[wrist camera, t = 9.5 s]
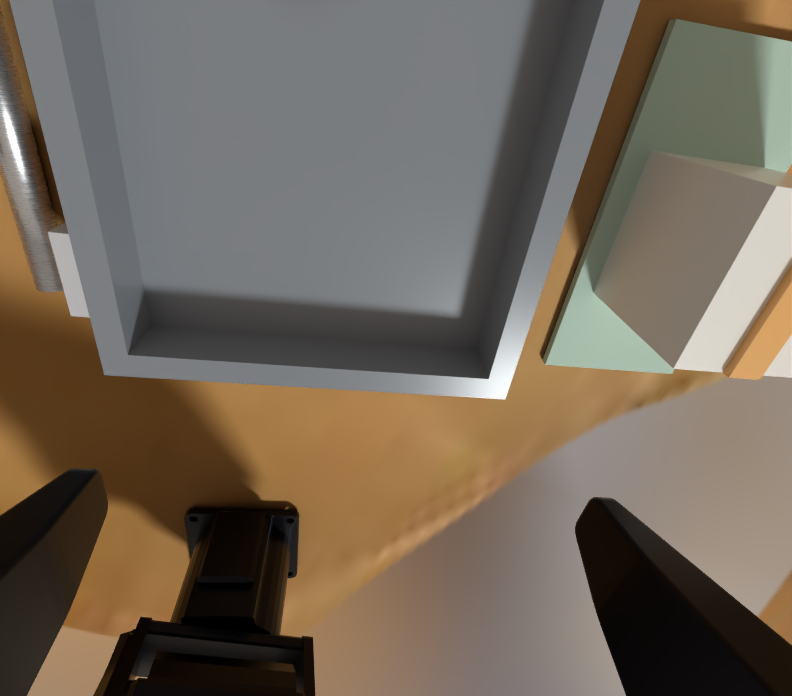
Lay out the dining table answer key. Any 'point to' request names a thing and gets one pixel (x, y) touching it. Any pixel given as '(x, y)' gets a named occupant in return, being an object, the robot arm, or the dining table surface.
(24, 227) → the stay rod
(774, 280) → the block
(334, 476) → the dining table surface
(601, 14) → the grey flat square tray
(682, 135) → the pad
